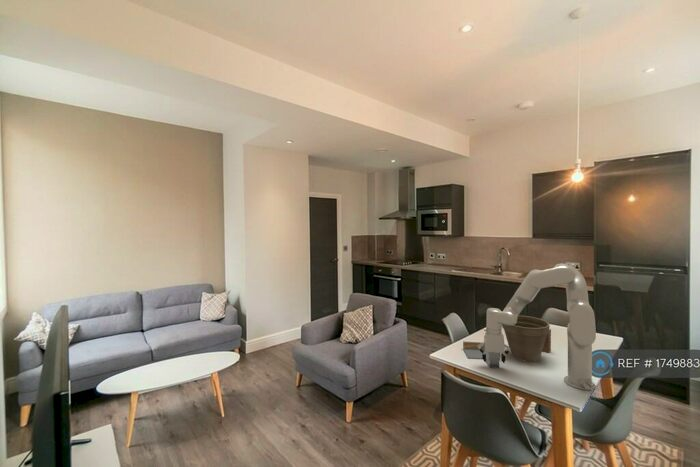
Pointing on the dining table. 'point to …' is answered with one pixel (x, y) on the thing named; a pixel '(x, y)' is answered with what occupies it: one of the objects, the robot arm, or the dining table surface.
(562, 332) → the dining table surface
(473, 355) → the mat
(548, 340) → the wooden block
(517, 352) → the plant pot
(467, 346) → the walls
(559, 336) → the dining table surface
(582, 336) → the robot arm
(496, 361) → the bracket
